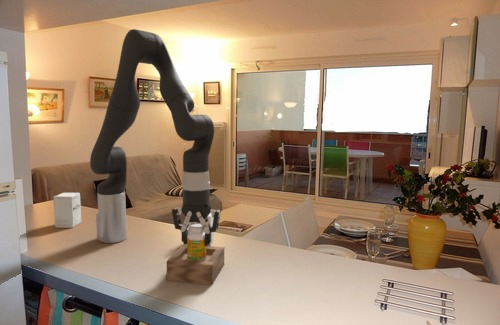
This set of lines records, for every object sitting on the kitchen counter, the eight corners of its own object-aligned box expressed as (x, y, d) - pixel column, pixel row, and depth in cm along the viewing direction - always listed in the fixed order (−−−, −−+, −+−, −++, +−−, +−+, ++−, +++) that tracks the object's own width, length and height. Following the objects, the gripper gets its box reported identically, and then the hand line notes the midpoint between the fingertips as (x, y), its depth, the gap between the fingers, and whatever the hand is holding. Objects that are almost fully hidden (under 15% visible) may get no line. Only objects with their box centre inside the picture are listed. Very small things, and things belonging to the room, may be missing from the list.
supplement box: (73, 228, 142) (71, 196, 140) (54, 227, 142) (52, 196, 140) (82, 222, 149) (80, 192, 148) (64, 222, 150) (62, 192, 148)
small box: (213, 240, 131) (213, 211, 129) (210, 245, 125) (210, 216, 124) (192, 239, 131) (191, 211, 130) (188, 244, 126) (187, 215, 124)
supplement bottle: (190, 263, 101) (190, 230, 99) (184, 256, 105) (184, 224, 104) (208, 260, 103) (209, 227, 102) (202, 253, 108) (202, 222, 107)
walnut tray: (167, 280, 100) (166, 261, 99) (183, 261, 112) (183, 244, 111) (212, 284, 97) (212, 265, 97) (224, 264, 110) (224, 247, 109)
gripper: (166, 188, 99) (167, 247, 101) (217, 190, 96) (217, 251, 99) (176, 182, 106) (177, 238, 109) (224, 185, 104) (224, 241, 106)
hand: (196, 244), depth 104 cm, fingers open, 5 cm apart
